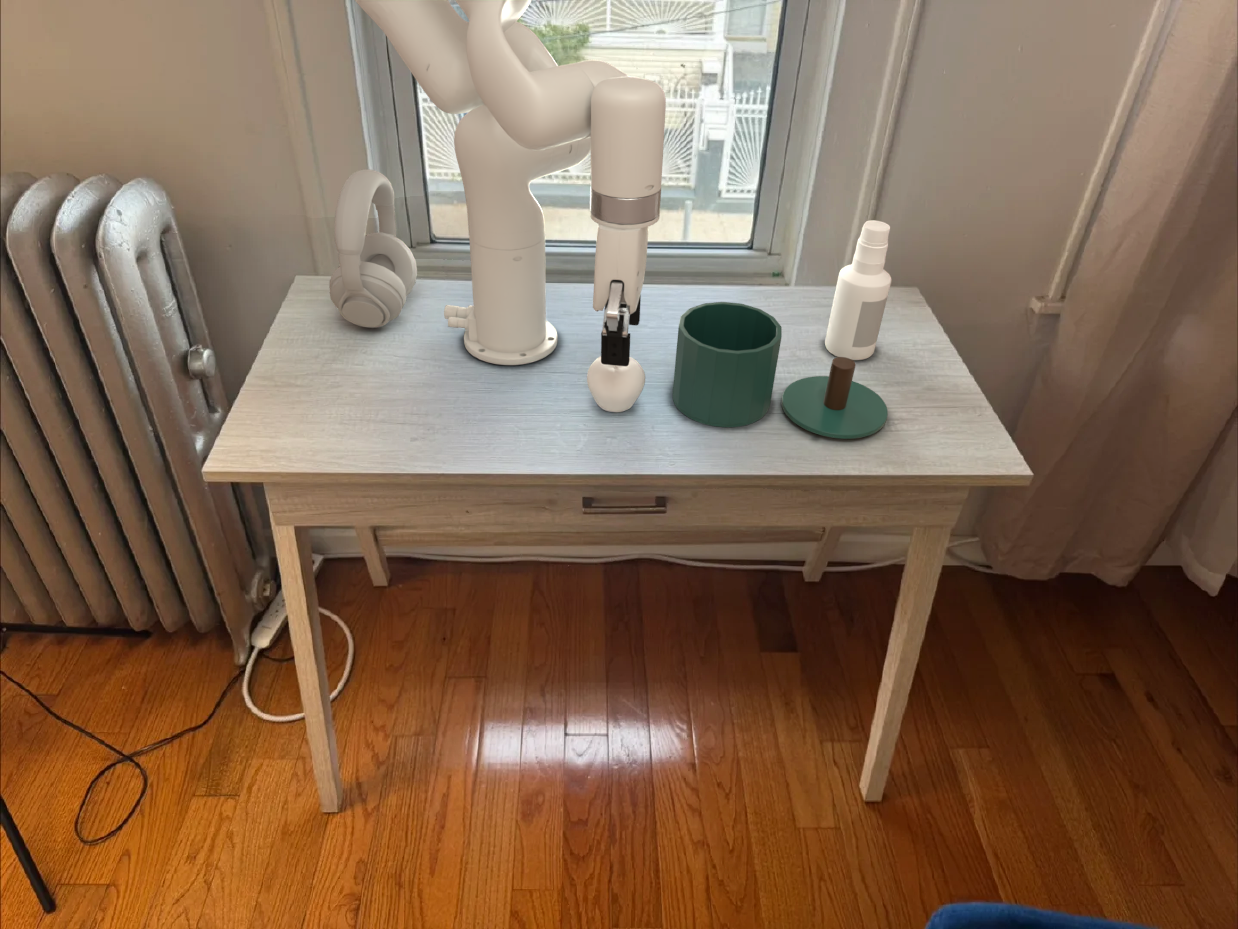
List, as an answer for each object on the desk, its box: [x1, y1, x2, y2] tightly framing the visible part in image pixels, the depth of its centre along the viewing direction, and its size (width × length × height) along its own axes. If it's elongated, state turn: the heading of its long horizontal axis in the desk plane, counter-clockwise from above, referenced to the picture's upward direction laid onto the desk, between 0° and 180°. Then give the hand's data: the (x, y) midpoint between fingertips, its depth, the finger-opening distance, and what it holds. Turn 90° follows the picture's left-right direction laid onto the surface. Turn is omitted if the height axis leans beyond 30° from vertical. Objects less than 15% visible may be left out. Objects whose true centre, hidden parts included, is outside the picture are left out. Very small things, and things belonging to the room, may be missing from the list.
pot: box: [671, 301, 783, 428], centre depth 113 cm, size 12×12×10 cm
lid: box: [781, 356, 889, 440], centre depth 113 cm, size 13×13×7 cm
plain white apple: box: [586, 355, 646, 413], centre depth 112 cm, size 7×7×8 cm
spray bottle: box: [824, 219, 892, 361], centre depth 122 cm, size 7×7×18 cm
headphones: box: [328, 168, 418, 329], centre depth 124 cm, size 18×10×20 cm, turn 177°
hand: (620, 343), depth 109 cm, fingers open, 9 cm apart
